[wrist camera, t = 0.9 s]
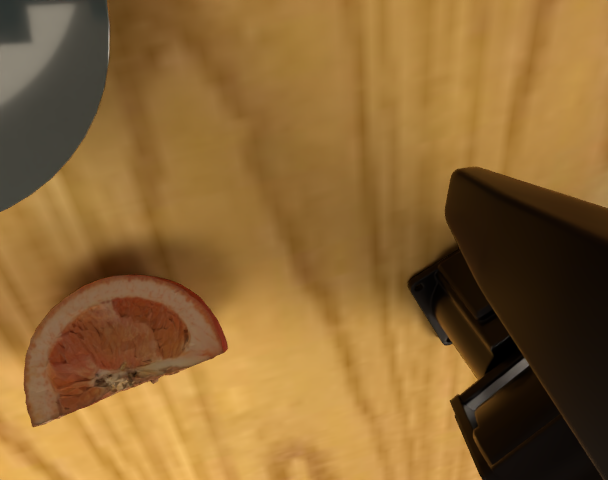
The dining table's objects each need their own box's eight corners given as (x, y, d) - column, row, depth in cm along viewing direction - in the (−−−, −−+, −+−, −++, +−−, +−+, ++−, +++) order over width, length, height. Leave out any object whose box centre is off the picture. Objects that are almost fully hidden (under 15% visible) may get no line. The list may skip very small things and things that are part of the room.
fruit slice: (73, 381, 28) (69, 468, 24) (-4, 289, 24) (-24, 377, 20) (229, 320, 29) (250, 395, 25) (181, 220, 25) (196, 292, 21)
